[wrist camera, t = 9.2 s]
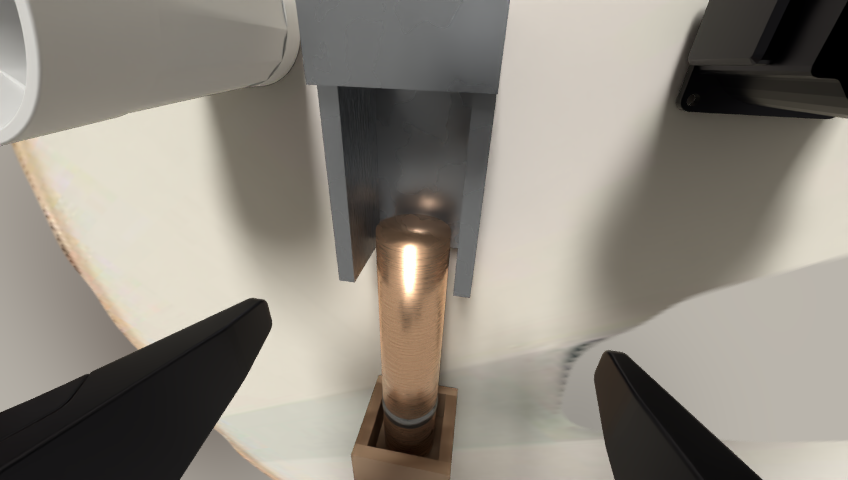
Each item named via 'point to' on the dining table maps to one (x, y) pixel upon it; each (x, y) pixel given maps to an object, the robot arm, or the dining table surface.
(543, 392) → the dining table surface
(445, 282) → the tube
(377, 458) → the socket
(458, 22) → the grey channel holder
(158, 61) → the cup
